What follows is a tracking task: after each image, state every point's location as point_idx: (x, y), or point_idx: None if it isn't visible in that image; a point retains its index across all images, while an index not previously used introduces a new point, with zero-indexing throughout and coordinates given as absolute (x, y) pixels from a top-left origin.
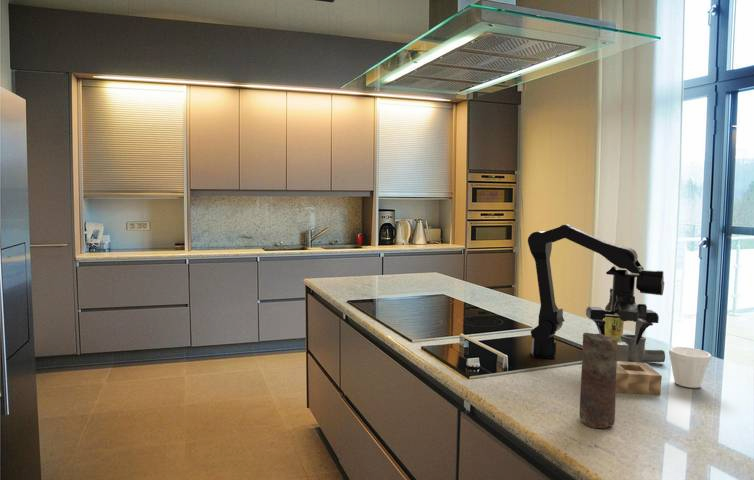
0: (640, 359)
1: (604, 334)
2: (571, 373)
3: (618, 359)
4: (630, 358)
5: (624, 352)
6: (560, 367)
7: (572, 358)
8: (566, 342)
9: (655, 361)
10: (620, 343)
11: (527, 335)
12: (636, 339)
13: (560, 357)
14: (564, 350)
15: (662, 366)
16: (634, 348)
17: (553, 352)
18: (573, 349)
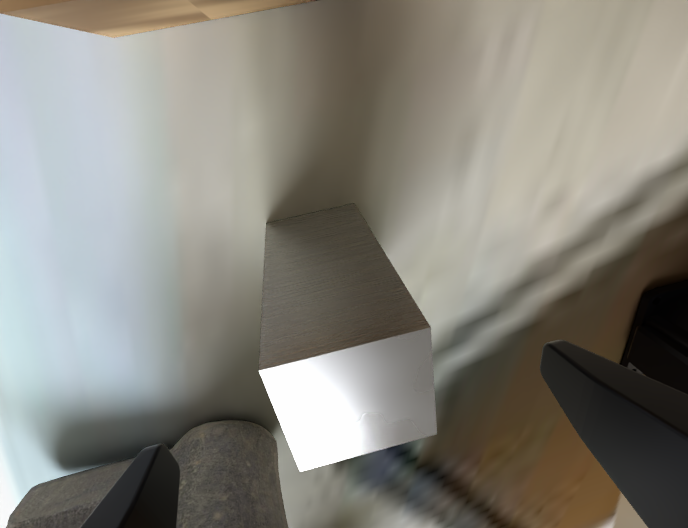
0: (179, 446)
1: (674, 420)
2: (677, 11)
3: (343, 248)
4: (239, 434)
5: (300, 298)
6: (684, 142)
7: (538, 346)
8: (488, 523)
9: (93, 468)
10: (355, 400)
11: (605, 522)
12: (135, 523)
13: (594, 335)
14: (532, 437)
15: (51, 435)
16: (208, 505)
17: (667, 330)
18: (487, 465)
